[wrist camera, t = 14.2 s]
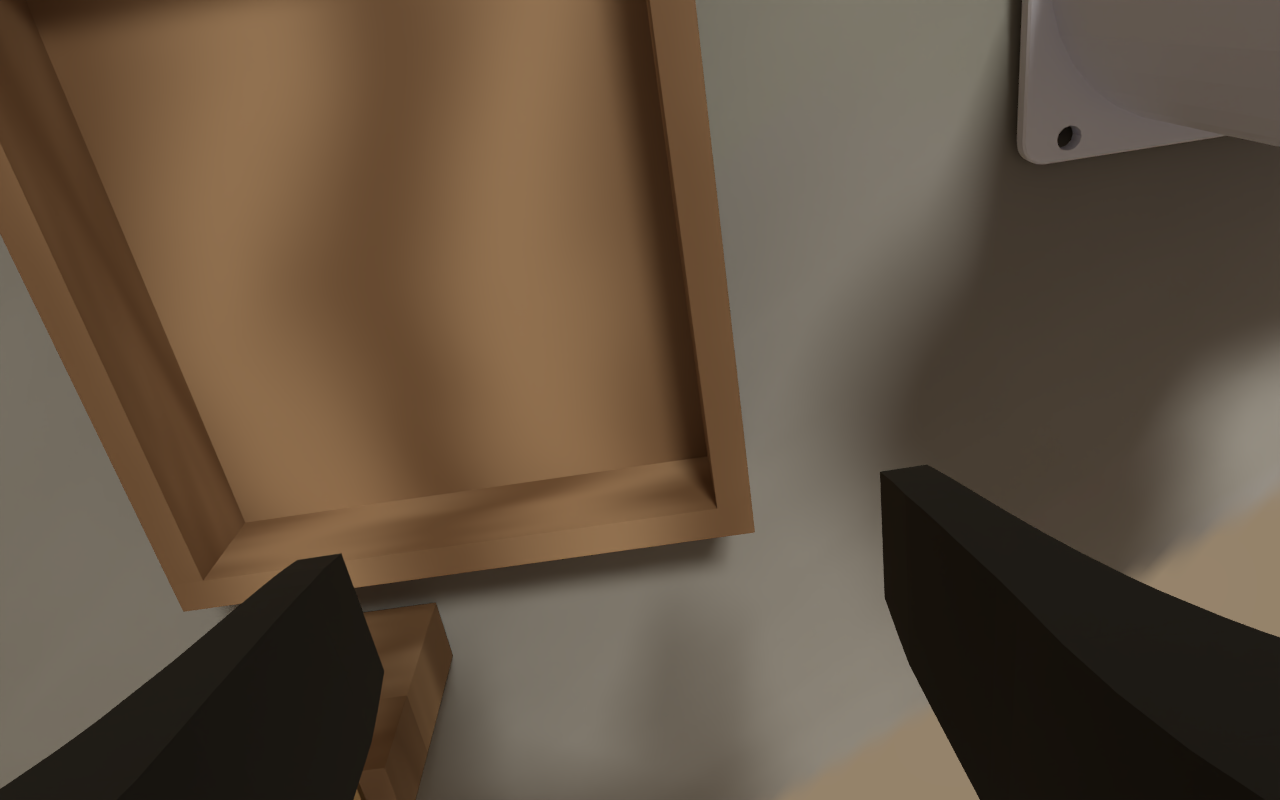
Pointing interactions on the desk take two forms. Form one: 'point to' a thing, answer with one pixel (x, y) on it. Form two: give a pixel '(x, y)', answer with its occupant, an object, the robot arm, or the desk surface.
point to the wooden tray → (381, 289)
